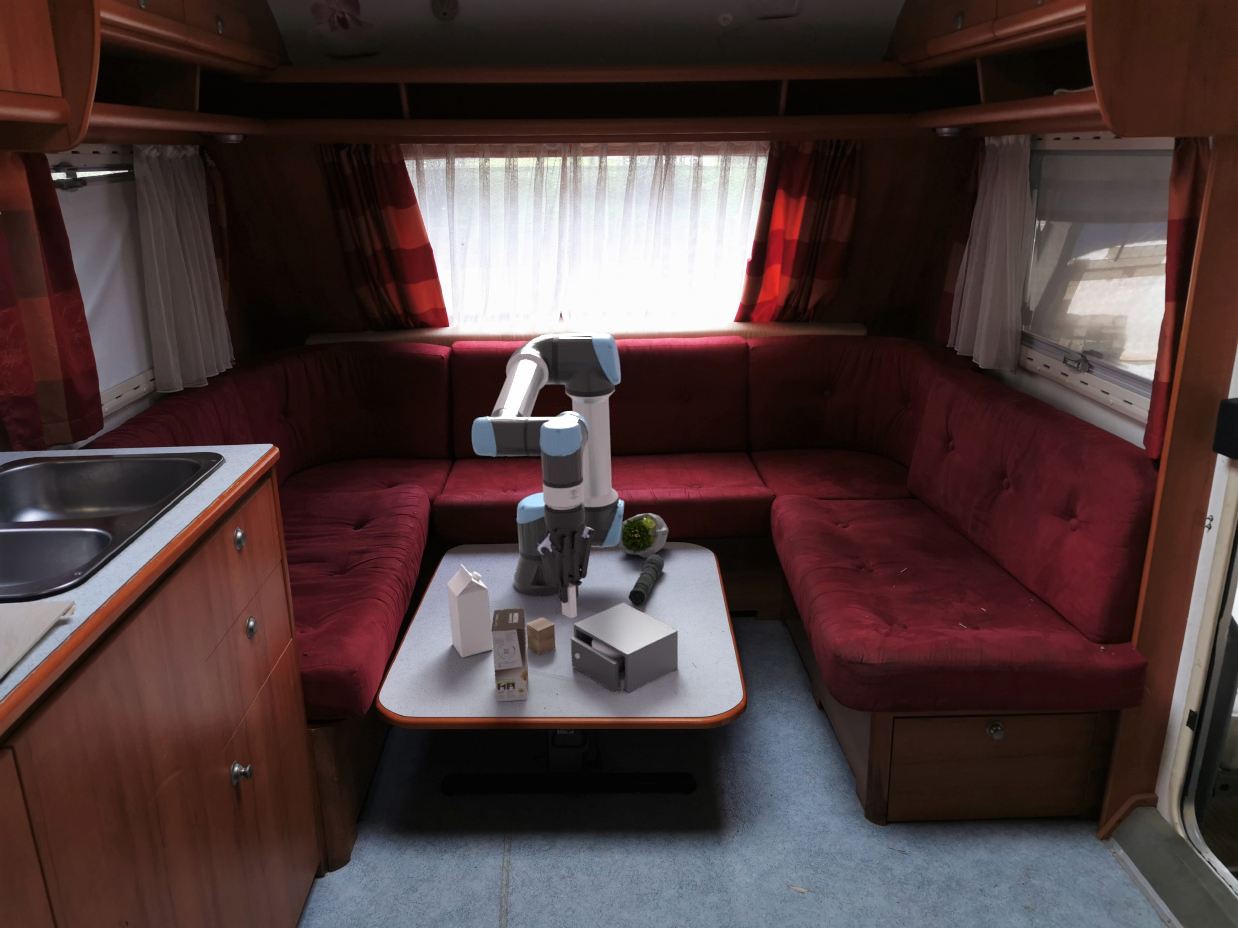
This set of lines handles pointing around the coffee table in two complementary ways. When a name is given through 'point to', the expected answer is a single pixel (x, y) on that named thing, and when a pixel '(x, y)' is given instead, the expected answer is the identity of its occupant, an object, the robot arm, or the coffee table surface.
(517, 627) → the coffee box
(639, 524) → the potted plant
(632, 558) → the coffee table surface
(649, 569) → the flashlight
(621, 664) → the drawer
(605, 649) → the disc
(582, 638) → the housing
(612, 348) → the robot arm
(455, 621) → the milk carton
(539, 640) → the brown boxy piece
